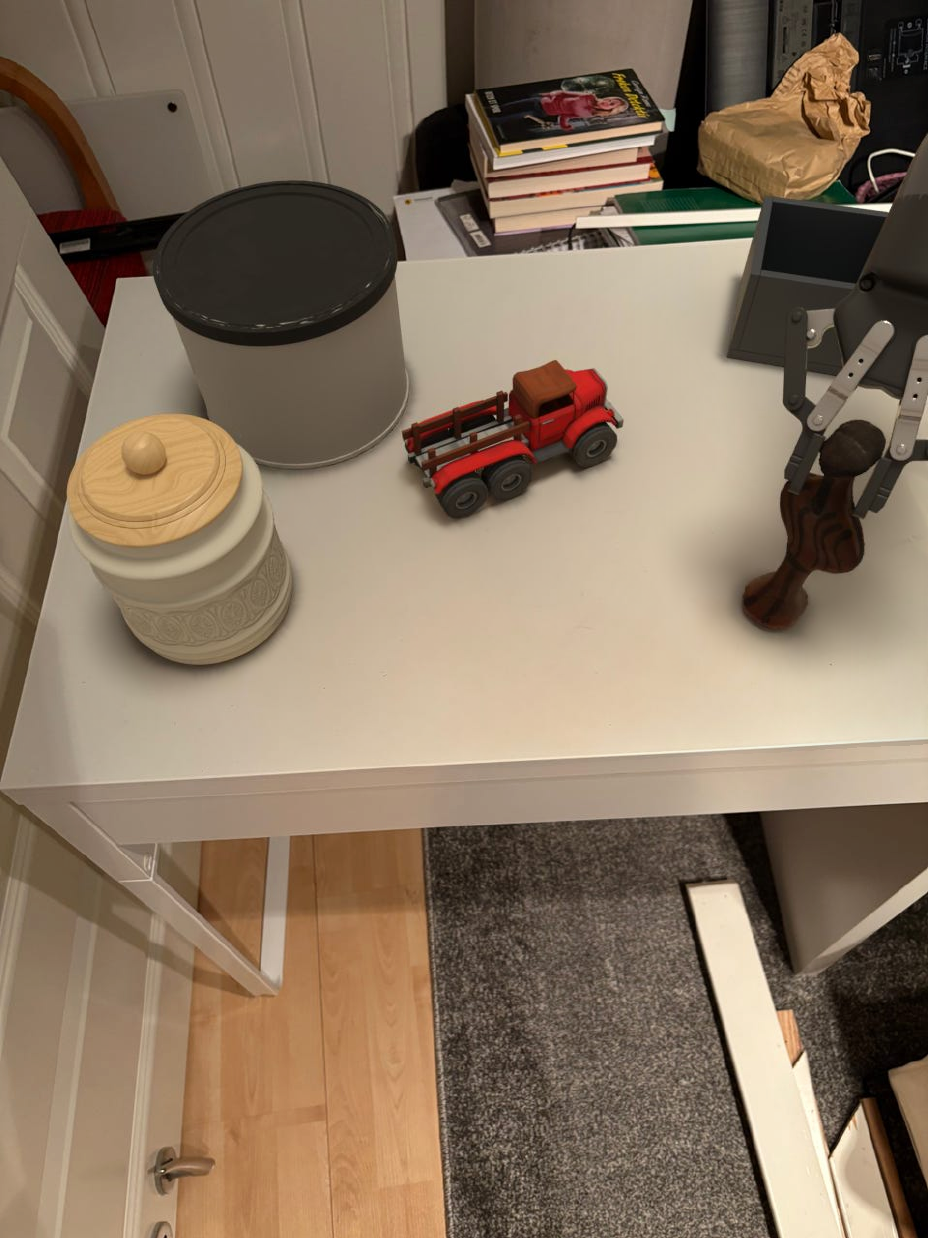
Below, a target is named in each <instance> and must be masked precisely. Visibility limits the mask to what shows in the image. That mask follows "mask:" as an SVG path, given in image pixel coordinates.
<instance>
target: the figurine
mask: <svg viewBox="0 0 928 1238" xmlns="http://www.w3.org/2000/svg"><path fill="white" fill-rule="evenodd" d="M886 444H887V439H886V436H885V434H884V432H883V430H882V429H881V428H879V427H878V426H877V425H875V424H873V423H871V421H869V420H864V419H851V420H848V421H844V422H842V423H841V424H840V425H839V426H838V427H837V428H836V429H835V430H834V431H833V432H832V434H830V435H829V436H828V437H826V439H825V441H824V442H823V444H822V446H821V448H820V450H819V454H818V456H819V457H818V465H819V468H820V469H819V470H820V472H821V473H822V475H821V474H816V473H813V472H810V473H809V475H808V478H807V480H806V482H805V484H804V486H803V488H802V490H801V493H800V494H799V495H797V494H794V493H792V492H789V491H788V489H789V487H790V485H791V481H789V480H786V482H785V483H784V485H783V487H782V489H781V491H780V496H779V512H780V517H781V521H782V524H783V526H784V529H785V533H786V546H785V550H786V551H785V555H784V557H783V560H782V562H781V563H780V565H779V566H778V568H777V569H776V571H771V572H768V573H763V574H762V575H760V576H758V577H756V578H754V579H753V580H752V579H751V581H750V582H749V583H748V584H746V585H745V587H744V590H743V594H742V605H743V609H744V611H745V612H746V614H747V616H749V617H750V618H752V620H753V621H755V622H756V623H758V624H759V625H761V626H763V627H765V628H768V629H769V628H770V629H773V630H780V629H781V630H782V629H787V628H790V627H792V626H793V625H795V624H796V622H797V621H799V619H800V618H801V616H802V615H803V614H804V612H805V610H806V609H807V607H808V605H809V595H808V593H807V591H806V589H805V588H804V586H803V585H804V583H805V582H806V580H807V579H808V577H809V576H810V575H811V574H812V572H815V571H820V572H823V573H828V574H833V575H839V574H846V573H847V574H848V573H850V572H852V571H854V570H856V569H857V567H859V566H860V564H861V563H862V561H863V559H864V558H865V557H864V556H865V554H866V553H865V552H866V547H865V546H866V542H865V535H864V529H863V524H862V522H861V519H860V518H858V517H855V516H852V513H853V511H854V509H855V506H856V504H855V500H854V492H853V491H854V483H855V480H856V478H857V477H859V476H862V475H863V474H865V473H867V472H868V471H869V470H870V469H871V468H872V467H874V466H875V465H876V463H877V462H878V460H879V459H880V458H881V457H883V456H884V455H883V454H884V450H885V449H886Z"/></svg>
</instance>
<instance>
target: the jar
mask: <svg viewBox="0 0 928 1238" xmlns="http://www.w3.org/2000/svg"><path fill="white" fill-rule="evenodd" d="M66 500H67V505H68V516H67V517H68V518H67V519H68V529H69V534H70V538H71V541H72V543H73V544H74V546H75V548H76V549H77V551H78V553H79V554H80V555H81V556H82V557H83V558H84V559H85V560H86V562H88V563H89V566H90V568H91V571H92V573H93V575H94V576H95V578H96V579H97V581H98V582H99V583H100V585H101V586H102V587H103V588H104V589H105V590H106V591H107V592H108V593H109V594H110V596H111V597H112V599H113V601H114V602H115V603H116V605H117V606H118V608H119V609H120V612H121V615H122V617H123V619H124V621H125V623H126V625H127V626H128V628H129V629H130V631H131V632H132V633H133V635H134V636H135V637H136V638H137V639H138V641H140V643H142V644H143V645H145V646H146V647H147V648H149V649H150V650H151V651H153V652H154V653H156V654H157V655H159V656H161V657H163V658H164V659H167V660H169V661H172V662H175V663H179V664H186V665H197V666H199V665H200V666H201V665H212V664H219V663H222V662H226V661H230V660H232V659H235V658H238V657H240V656H242V655H244V654H246V653H248V652H250V651H251V650H253V649H255V648H256V647H258V646H259V645H260V644H262V643H263V642H264V641H265V640H267V638H269V637H270V636H271V634H273V632H274V631H276V629H278V627H279V626H280V624H281V622H282V621H283V619H284V617H285V616H286V614H287V611H288V610H289V609H288V608H289V606H290V603H291V598H292V593H293V591H292V590H293V572H292V571H293V569H292V565H291V561H290V559H289V555H288V552H287V550H286V547H285V545H284V544H283V542H282V541H281V539H280V538H281V537H280V536H279V533H278V529H277V526H276V524H275V517H274V510H273V506H272V502H271V501H270V498H269V496H268V495H267V493H266V492H265V490H264V482H263V477H262V473H261V470H260V468H259V465H258V463H256V462H255V461H254V459H253V458H252V457H251V456H250V454H249V453H248V452H247V451H246V450H245V449H243V448H242V447H241V446H240V445H238V444H237V443H235V441H234V440H233V439H232V437H231V436H230V435H229V434H228V433H227V432H226V431H225V430H224V429H222V428H221V427H220V426H218V425H216V424H215V423H213V422H211V421H210V420H209V419H206V418H202V417H200V416H197V415H191V414H184V413H161V414H152V415H148V416H147V415H146V416H143V417H139V418H136V419H133V420H130V421H128V422H125V423H122V424H121V425H118V426H117V427H114V428H112V429H111V430H109V431H107V432H106V433H104V434H103V435H102V436H100V437H99V438H97V439H96V440H95V441H94V442H92V443H91V445H89V446H88V447H87V448H86V449H85V450H84V451H83V452H82V454H81V455H80V457H79V458H78V459H77V461H76V462H75V464H74V466H73V467H72V469H71V472H70V475H69V477H68V480H67V486H66Z"/></svg>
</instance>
